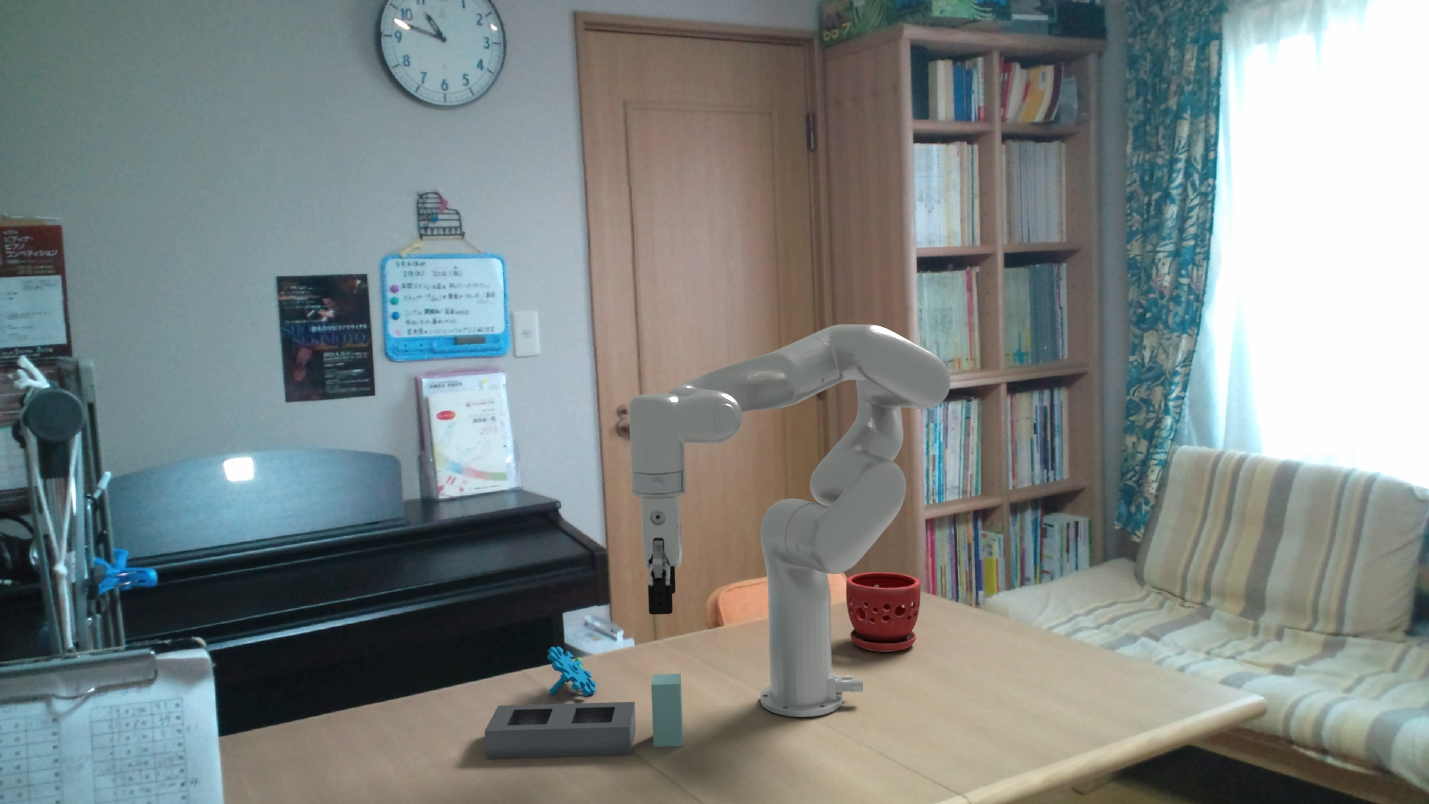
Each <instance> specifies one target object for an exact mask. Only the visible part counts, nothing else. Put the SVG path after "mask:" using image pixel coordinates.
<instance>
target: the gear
mask: <svg viewBox="0 0 1429 804" xmlns="http://www.w3.org/2000/svg"><path fill="white" fill-rule="evenodd" d="M547 652H548V655H547V659H548V660H549V661H550V662H552V664H551V668H552V669H553V670H554V671H555V672H559V673H560V675H559V676H560V678H559V679H558V680H557V681H556V682H555V683H554V684H553V686H551V688H549V689H548V692H549V693H550V694H551V696H552V695H555V694H556V693H557V692H558V691H559V690H560V689H561V688H562V687H563V686H564V684H566V683H569V682H571V683H572V684H571V685H570V687H571V688H572V689H573V691H575V692H578V691H579V690H580V689H581V690H580V692H581V694H582V695H583V696H586V697H588V696H589V695H593V694H595V693H596V692H597V689H596V688H595V687H596V686H597V683H596V682H595V680H592V678H593V677H592V674H591V672H590V671H589V670H586V669H584V664H583V663H582V662H583V660H582V659H581V658H580V657H579V656H578V657H576V658H575V659H574V660H573V657H574V655H573V654H572V653H571V652H570V651H569V650H567V651H566V652H565V653H564V649H563V648H562V647H560V646H556V647H555V646H551V647H550V648H549V649H548V650H547Z"/></svg>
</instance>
